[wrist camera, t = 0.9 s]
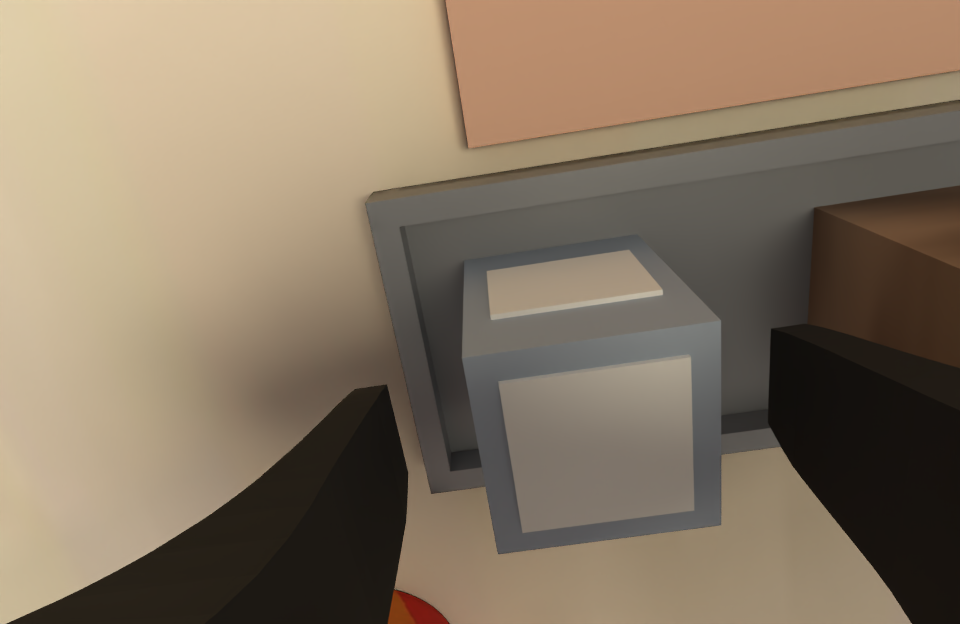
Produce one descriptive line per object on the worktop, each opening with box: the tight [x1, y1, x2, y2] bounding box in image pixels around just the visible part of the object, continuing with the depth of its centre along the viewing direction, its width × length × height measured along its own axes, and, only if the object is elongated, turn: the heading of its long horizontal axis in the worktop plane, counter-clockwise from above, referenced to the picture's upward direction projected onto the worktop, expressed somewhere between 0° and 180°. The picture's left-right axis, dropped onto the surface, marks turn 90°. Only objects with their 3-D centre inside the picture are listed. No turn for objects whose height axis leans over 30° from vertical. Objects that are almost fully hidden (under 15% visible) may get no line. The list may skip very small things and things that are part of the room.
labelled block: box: [462, 234, 721, 554], centre depth 12 cm, size 4×4×5 cm
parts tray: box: [365, 100, 960, 494], centre depth 14 cm, size 16×8×1 cm, turn 99°
